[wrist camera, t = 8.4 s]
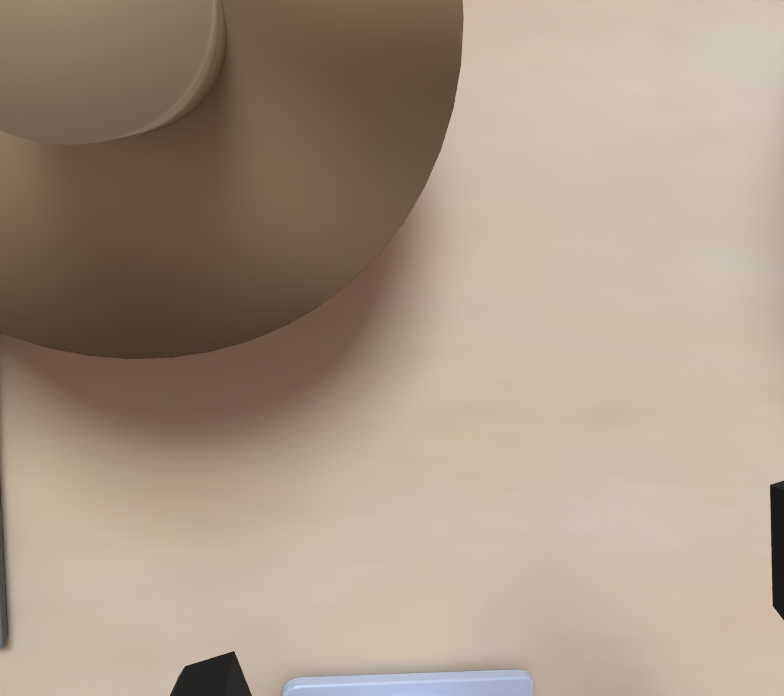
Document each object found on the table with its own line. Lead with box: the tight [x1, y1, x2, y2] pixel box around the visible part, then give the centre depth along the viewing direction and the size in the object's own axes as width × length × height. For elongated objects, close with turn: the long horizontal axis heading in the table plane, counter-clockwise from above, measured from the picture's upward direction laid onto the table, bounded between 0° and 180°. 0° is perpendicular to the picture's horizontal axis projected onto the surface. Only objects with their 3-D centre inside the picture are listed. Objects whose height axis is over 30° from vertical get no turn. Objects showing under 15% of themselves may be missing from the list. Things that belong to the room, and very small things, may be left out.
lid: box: [0, 0, 463, 359], centre depth 9 cm, size 11×11×5 cm
